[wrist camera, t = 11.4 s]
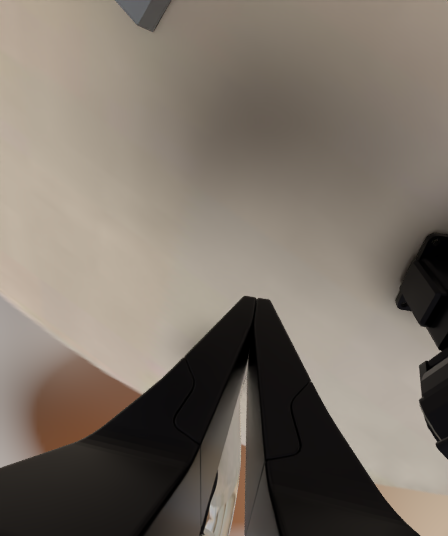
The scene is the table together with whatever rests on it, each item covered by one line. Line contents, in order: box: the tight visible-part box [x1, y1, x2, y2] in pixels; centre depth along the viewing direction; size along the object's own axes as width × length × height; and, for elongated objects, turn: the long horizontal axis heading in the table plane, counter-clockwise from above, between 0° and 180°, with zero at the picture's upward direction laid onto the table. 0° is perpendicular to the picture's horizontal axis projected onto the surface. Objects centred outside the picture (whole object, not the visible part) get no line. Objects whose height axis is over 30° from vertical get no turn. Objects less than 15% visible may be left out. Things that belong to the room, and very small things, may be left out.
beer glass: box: [199, 362, 248, 536], centre depth 24 cm, size 7×7×15 cm
